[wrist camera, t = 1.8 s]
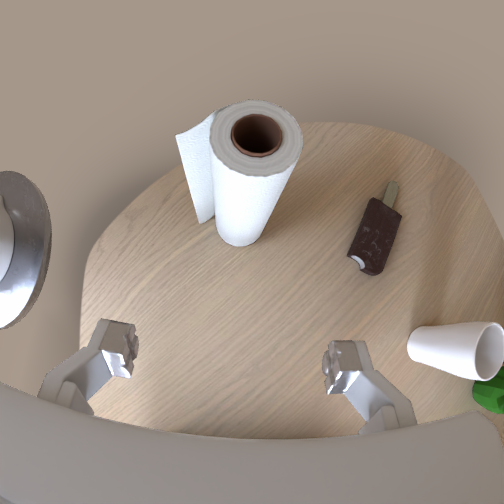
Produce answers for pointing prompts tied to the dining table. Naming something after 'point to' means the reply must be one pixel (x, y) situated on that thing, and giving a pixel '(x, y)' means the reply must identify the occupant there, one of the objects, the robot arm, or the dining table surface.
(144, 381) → the dining table surface
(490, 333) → the drinking glass
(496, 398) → the bell pepper
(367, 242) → the ice cream bar
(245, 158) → the paper towel roll
